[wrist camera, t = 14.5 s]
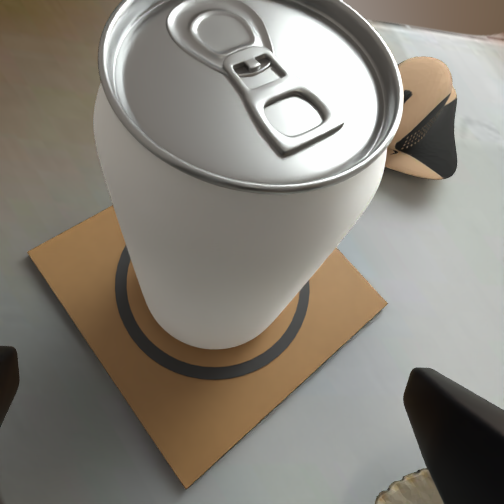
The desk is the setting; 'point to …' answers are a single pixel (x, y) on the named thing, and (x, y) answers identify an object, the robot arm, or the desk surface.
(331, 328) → the circle card
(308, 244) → the can
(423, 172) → the computer mouse
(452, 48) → the desk surface
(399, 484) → the seashell
